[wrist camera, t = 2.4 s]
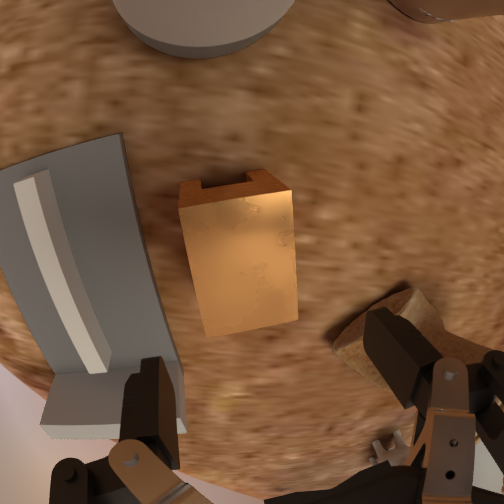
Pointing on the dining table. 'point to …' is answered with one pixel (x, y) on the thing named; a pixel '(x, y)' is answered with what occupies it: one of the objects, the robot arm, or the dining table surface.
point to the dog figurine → (391, 451)
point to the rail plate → (84, 283)
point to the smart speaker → (201, 24)
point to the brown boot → (424, 319)
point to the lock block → (241, 252)
